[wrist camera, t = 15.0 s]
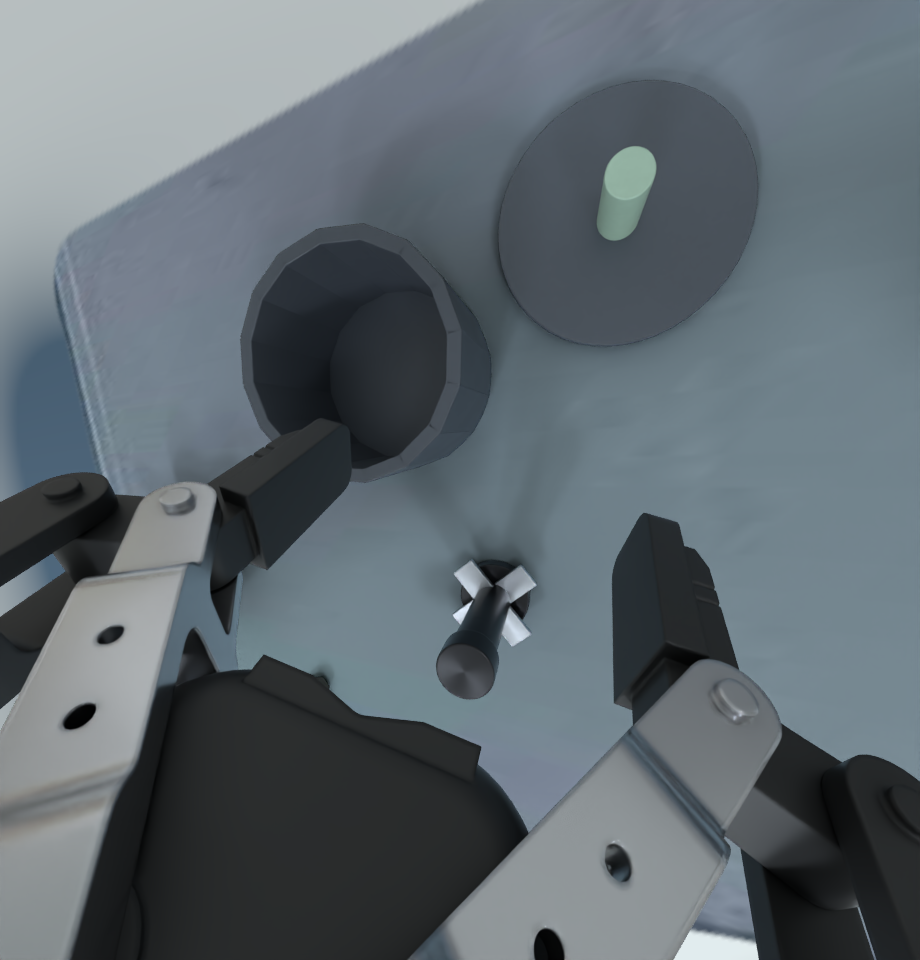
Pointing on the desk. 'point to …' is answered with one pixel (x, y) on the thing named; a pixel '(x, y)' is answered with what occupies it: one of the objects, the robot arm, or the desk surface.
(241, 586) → the robot arm
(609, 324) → the lid
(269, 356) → the gray oval box
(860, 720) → the desk surface
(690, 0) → the desk surface
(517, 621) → the cylinder on cross base
